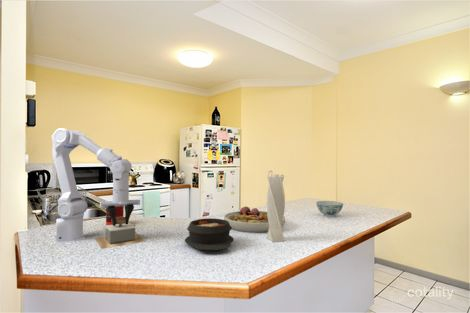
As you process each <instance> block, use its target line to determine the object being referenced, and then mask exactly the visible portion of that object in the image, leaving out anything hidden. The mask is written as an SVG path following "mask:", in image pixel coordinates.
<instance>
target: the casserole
mask: <svg viewBox="0 0 470 313" xmlns="http://www.w3.org/2000/svg"><path fill="white" fill-rule="evenodd" d="M186 230H187V231H188V234H189V235H188V236H186V237H185V238H184V242H185V243H186V244H187V245H189V246H191V247H194V248H195V249H197V250H199V251H218V250H219V251H220V250H225V249H228V248H230V247H231V244H232V243H233V242H234V237H233V236H232V235H230V233H231V232H230V231H232V230H233V229H232V227H231V226H230V224H229V222H228V221H226V220H224V219H221V218H210V217H209V218H208V217H207V218H199V219H198V218H197V219H194V220H191V221H190V222H189V225H188V227H186Z"/></svg>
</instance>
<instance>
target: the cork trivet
mask: <svg viewBox="0 0 470 313" xmlns="http://www.w3.org/2000/svg"><path fill="white" fill-rule="evenodd" d="M94 240H95V242H96V243H97V245H98V246H99V248H100V249H101V250H104V249H110V248H115V247H119V246H120V247H121V246H122V247H123V246H127V245H132V244H133V245H134V244H138V243H145V242H147V240H146V238H143V236H141V235H140V234H139V233H137V232H136V231H135V241H129V242H122V243H116V244H109V243H108V241H107V240H106V239H105V236H98V237H94Z"/></svg>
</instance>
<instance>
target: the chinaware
mask: <svg viewBox="0 0 470 313" xmlns="http://www.w3.org/2000/svg"><path fill="white" fill-rule="evenodd" d="M315 203H316V207H317V209H318V211H319V212H320V213H321V214H323V216H324V217H328V218H334V217H335V218H336V215H338V214H340V212H341V211H342V209H343V206H344V202H340V201H333V200H318V201H316V202H315Z"/></svg>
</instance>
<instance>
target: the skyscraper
mask: <svg viewBox="0 0 470 313" xmlns="http://www.w3.org/2000/svg"><path fill="white" fill-rule="evenodd" d="M266 178H267V181H268V187H267V192H266V212H267V216H268V222H269V231H268V232H267V235H266V239H267V240H269V241H271V242H272V243H277V242H285V237H284V232H283V229H282V228H283V226H282V222H283V217H285V208H286V196H285V189H284V183H283V182H284V178H285V175H284V174H281V175H280V174H273V171H272V170H269V171H268V173H267V177H266ZM281 226H282V227H281Z"/></svg>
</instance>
